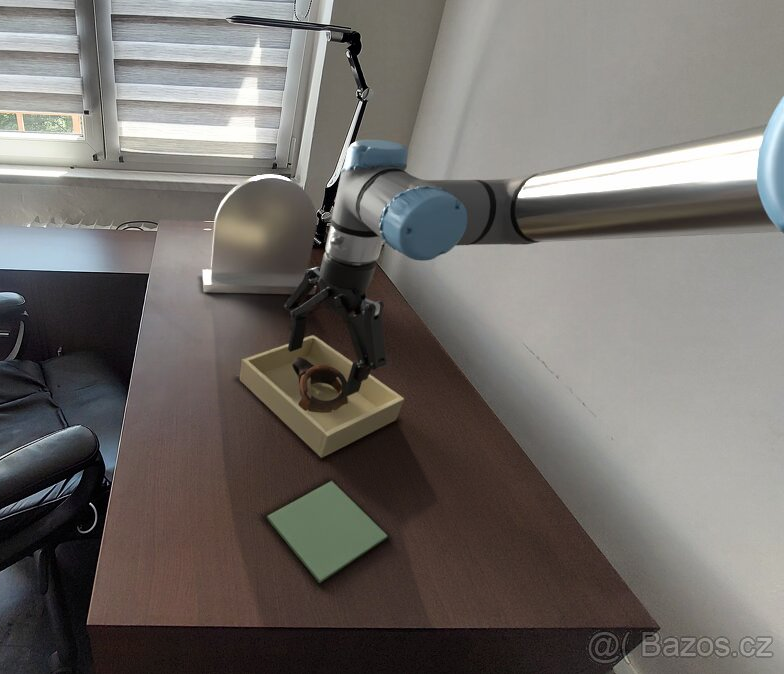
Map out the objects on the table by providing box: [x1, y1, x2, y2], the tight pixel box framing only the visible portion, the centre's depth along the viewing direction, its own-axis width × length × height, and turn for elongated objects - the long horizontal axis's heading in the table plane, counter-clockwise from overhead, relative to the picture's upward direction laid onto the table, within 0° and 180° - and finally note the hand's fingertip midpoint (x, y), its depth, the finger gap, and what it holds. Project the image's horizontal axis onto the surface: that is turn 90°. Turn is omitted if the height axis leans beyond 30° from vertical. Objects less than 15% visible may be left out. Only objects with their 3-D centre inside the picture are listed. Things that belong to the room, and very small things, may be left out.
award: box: [201, 174, 318, 296], centre depth 111 cm, size 28×9×28 cm, turn 91°
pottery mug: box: [292, 357, 348, 413], centre depth 80 cm, size 12×10×8 cm
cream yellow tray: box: [239, 334, 405, 459], centre depth 81 cm, size 22×18×5 cm
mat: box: [266, 480, 388, 584], centre depth 61 cm, size 10×12×1 cm
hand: (321, 369), depth 79 cm, fingers open, 13 cm apart
